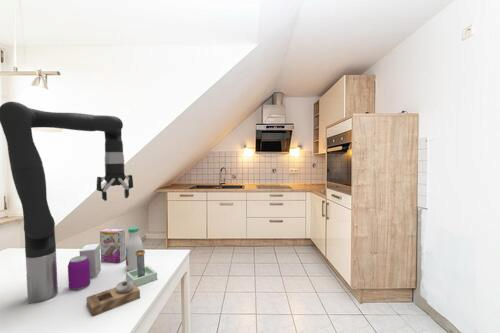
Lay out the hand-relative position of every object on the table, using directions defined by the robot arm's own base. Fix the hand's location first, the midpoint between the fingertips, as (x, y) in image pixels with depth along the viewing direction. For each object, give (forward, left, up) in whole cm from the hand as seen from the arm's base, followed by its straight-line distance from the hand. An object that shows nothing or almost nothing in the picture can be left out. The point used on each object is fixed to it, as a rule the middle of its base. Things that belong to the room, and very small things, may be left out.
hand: (115, 199), depth 112 cm
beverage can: (-14, +5, -36) cm, 39 cm away
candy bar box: (+4, +23, -36) cm, 43 cm away
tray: (+7, -8, -36) cm, 38 cm away
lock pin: (+7, -8, -35) cm, 37 cm away
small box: (-8, +14, -36) cm, 40 cm away
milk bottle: (+9, +6, -36) cm, 38 cm away
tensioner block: (-7, -18, -36) cm, 41 cm away
